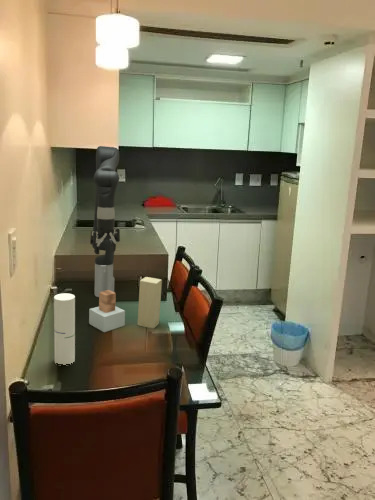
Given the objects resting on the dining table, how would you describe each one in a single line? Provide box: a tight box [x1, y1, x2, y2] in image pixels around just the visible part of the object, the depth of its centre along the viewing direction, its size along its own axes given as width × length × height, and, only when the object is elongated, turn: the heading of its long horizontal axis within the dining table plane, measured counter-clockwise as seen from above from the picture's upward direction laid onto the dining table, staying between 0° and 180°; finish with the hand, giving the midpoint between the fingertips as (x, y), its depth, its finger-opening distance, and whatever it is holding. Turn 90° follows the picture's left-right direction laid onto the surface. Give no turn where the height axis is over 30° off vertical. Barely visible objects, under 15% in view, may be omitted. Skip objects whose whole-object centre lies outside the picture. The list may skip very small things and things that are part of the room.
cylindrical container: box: [53, 292, 76, 366], centre depth 160 cm, size 7×7×25 cm
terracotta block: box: [98, 290, 117, 313], centre depth 193 cm, size 5×5×8 cm
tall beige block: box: [137, 276, 163, 329], centre depth 197 cm, size 8×7×21 cm
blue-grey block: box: [88, 305, 126, 333], centre depth 195 cm, size 11×11×7 cm
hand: (105, 252), depth 198 cm, fingers open, 8 cm apart
